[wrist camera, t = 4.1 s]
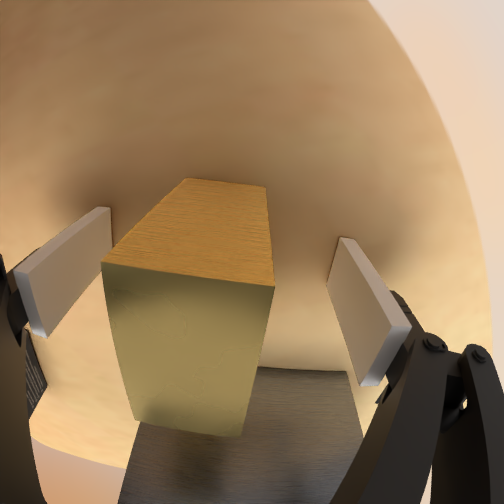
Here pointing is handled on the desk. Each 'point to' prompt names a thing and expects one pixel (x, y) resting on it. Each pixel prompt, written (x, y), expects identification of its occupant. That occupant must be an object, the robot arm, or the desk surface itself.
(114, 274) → the yellow rectangular block
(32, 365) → the box
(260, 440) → the gray slotted cube
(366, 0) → the desk surface
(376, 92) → the desk surface
